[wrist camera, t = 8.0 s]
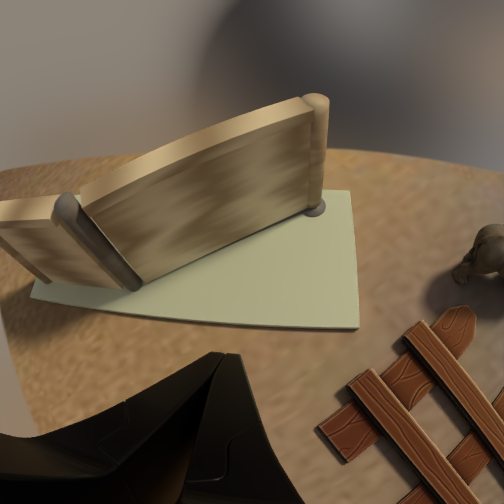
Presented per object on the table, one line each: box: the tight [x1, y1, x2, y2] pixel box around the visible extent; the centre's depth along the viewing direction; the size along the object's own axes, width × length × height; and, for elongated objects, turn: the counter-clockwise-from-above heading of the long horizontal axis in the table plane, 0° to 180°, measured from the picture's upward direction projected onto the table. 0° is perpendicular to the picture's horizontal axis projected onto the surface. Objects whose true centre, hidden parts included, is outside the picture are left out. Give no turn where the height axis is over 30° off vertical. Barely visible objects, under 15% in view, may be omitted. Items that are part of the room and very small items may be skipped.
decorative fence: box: [318, 305, 504, 504], centre depth 15 cm, size 23×2×15 cm
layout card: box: [30, 190, 359, 329], centre depth 26 cm, size 30×12×1 cm, turn 84°
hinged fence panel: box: [80, 93, 329, 283], centre depth 21 cm, size 16×2×10 cm, turn 116°
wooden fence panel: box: [0, 192, 142, 292], centre depth 21 cm, size 12×2×11 cm, turn 84°
